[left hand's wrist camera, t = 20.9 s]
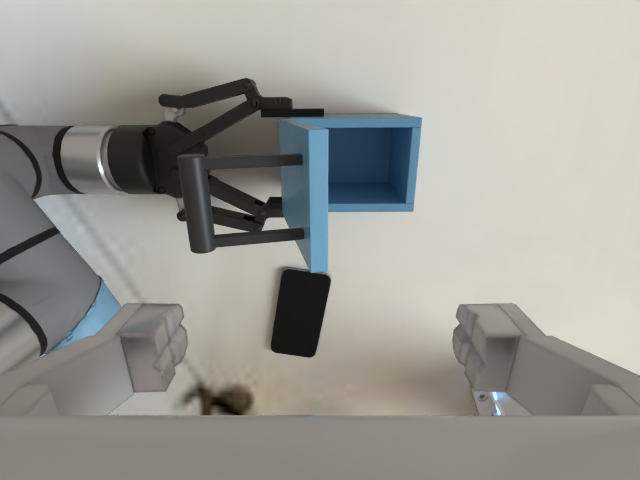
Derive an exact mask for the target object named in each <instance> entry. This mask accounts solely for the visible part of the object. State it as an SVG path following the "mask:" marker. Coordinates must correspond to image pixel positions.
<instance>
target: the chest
mask: <svg viewBox="0 0 640 480" xmlns="http://www.w3.org/2000/svg"><path fill="white" fill-rule="evenodd" d="M286 119H294V120H297V121H301V122H304V123H308V124H311V125H315V126H318V127H322V128H326V129H328V212H413V209H414V198H415V187H416V177H417V167H418V156H419V146H420V136H421V125H422V118H420V117H414V116H408V115H402V114H324V117H288V118H286Z"/></svg>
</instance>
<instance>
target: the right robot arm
mask: <svg viewBox="0 0 640 480" xmlns="http://www.w3.org/2000/svg"><path fill="white" fill-rule="evenodd" d="M242 94H245V96H246V98H247V101H245V102H244V103H242V104H240V105H238V106H237V107H235V108H233V109H232V110H230V111H228V112H227V113H225V114H223V115H222V116H220V117H218V118H216V119H215V120H213V121H211V122H210V123H208V124H206V125H205V126H203V127H201V128H199V129H197V130H195V131H193V132H191V131H190V130H188V129H187V128H185V127H184V126H182V125H181V124H180V123H178V122H177V118H178V117H179V116H182V115H184V114H185V113H186V108H194V107H198V106H202V105H206V104H209V103H213V102H216V101H220V100H224V99H227V98H231V97H235V96H238V95H242ZM159 103H160V105H162V106H163V108H164V121H163V122H161V123H160V124H158V125H121V126H118V127H116V126H114V125H76V126H18V125H0V375H3V374H5V373H7V372H9V371H12V370H14V369H16V368H18V367H20V366H23V365H25V364H27V363H29V362H31V361H34V360H36V359H38V358H39V357H40V356H41V355H43V354H49V353H51V352H54V351H56V350H58V349H60V348H62V347H65V346H67V345H69V344H71V343H73V342H76V341H78V340H80V339H82V338H84V337H87V336H94V335H95V334H96V333H97V332H98V331H99V330H100V329H101V328H102V327H103V326H104V325H105V324H106V323H107V322H108V321H109V320H110V319H111V318H112V317H113V316H114V315H115V314H116V313H117V312H118V311H119V310H120V309H121V306H120V304H119V302H118V301H117V300H116V298H115V297H114V296H113V294H112V293H111V292H110V290H109V289H108V287H107V286H106V285H105V283H104V280H103V279H102V278H101V277H100V276H99V275H97V274H96V273H95V272H94V271H93V269H92V268H91V267H90V266H89V265H88V264H87V263H86V262H85V260H84V259H83V258H82V257H81V256H80V255H79V254H78V252H77V251H76V250H75V249H74V248H73V247H72V246H71V245H70V243H69V242H68V241H67V240H66V239H65V238H64V237H63V236H62V234H61V233H60V231H59V230H58V229H57V228H56V226H55V225H54V224H53V223H52V221H51V220H50V219H49V218H48V217H47V216H46V214H45V213H44V212H43V211H42V210H41V208H40V207H39V206H38V205H37V204H36V202H35V201H34V200H33V199H36V198H39V197H42V196H46V195H54V194H124V193H128V194H167V195H170V196H172V197H174V198H176V199H177V203H178V207H179V211H180V212H179V213H178V214H177V218H178V219H179V220H180V221H186V215H185V209H184V202H183V195H182V189H181V182H180V176H179V169H178V162H177V156H179V155H183V154H203V155H205V157H207V155H208V148H207V145H205V143H204V142H205V141H207V140H208V139H210V138H212V137H213V136H215V135H216V134H218V133H220V132H222V131H223V130H225V129H227V128H228V127H230V126H232V125H234V124H235V123H237V122H239V121H241V120H242V119H244V118H246V117H247V116H249V115H251V114H253V113H254V112H256V111H258V110H261V117H324V109H293V106H292V99H290V98H288V97H262V96H261V95H260V94H259V92H258V89H257V87H256V83H255V82H254V81H253V80H251V79H248V78H244V79H240V80H237V81H233V82H230V83H226V84H223V85H219V86H215V87H212V88H208V89H205V90H201V91H198V92H194V93H190V94H187V95H183V96H180V95H167V94H163V95H160V97H159ZM209 173H210V169H208V170H207V175H208V184H209V192H210V195H212V196H214V197H216V198H219V199H221V200H223V201H225V202H227V203H229V204H231V205H233V206H235V207H237V208H239V209H242V210H244V211H246V212H248V213H250V214H252V215H249V214H244V213H240V212H235V211H231V210H227V209H222V208H218V207H214V206H211V208H212V216H213V224H218V225H222V226H227V227H231V228H236V229H240V230H245V231H249V232H255V231H261V230H262V228H263V226H264V224H265V220H266V219H267V218H269V217H284V216H283V210H282V197H269V199H268V201H267V203H265V202H262V201H260V200H258V199H256V198H254V197H252V196H250V195H248V194H246V193H244V192H242V191H240V190H238V189H236V188H234V187H232V186H230V185H228V184H226V183H224V182H221V181H220V180H218V178H216V177H214V176H212V175H210V174H209ZM253 215H254V216H253Z"/></svg>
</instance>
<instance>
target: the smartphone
mask: <svg viewBox="0 0 640 480" xmlns="http://www.w3.org/2000/svg"><path fill="white" fill-rule="evenodd" d="M330 283H331V278H330V276H329V275H328V274H326V273H321V272H316V273H311V272H310V271H309V270H302V269H296V268H286V269H284V270H283V272H282V277H281V284H280V290H279V297H278V303H277V310H276V316H275V321H274V327H273V336H272V342H271V349H272V351H274V352H276V353H282V354H288V355H295V356H302V357H313V356H314V355H315V354H316V349H317V345H318V340H319V336H320V331H321V326H322V321H323V316H324V312H325V307H326V302H327V297H328V293H329V288H330Z"/></svg>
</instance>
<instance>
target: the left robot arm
mask: <svg viewBox="0 0 640 480" xmlns="http://www.w3.org/2000/svg"><path fill="white" fill-rule="evenodd" d="M183 318H184V314H183V309H182V307H181V306H180V304H155V303H146V304H145V303H128V304H124V306H123V307H122V308H121V309H120V310H119V311H118V312H117V313H116V314H115V315H114V316H113V317H112V318H111V319H110V320H109V321H108V322H107V323H106V324H105V325H104V326H103V327H102V328H101V329H100V330H99V331H98V332H97V333H96V334H95V335H94V336H87V337H84V338H82V339H80V340H78V341H76V342H73V343H71V344H69V345H67V346H65V347H62V348H60V349H58V350H56V351H54V352H51V353H49V354H47V355H45V356H42V357H40V358H38V359H36V360H34V361H31V362H29V363H27V364H25V365H23V366H20V367H18V368H16V369H14V370H12V371H9V372H7V373H5V374H3V375H0V480H640V376H639V375H637V374H635V373H633V372H630V371H628V370H626V369H624V368H622V367H619V366H617V365H615V364H613V363H611V362H608V361H606V360H604V359H602V358H600V357H597V356H595V355H593V354H591V353H589V352H586V351H584V350H582V349H580V348H578V347H575V346H573V345H571V344H569V343H567V342H564V341H562V340H560V339H558V338H556V337H553V336H546V335H545V334H544V333H543V332H542V331H541V330H540V329H539V328H538V327H537V326H536V325H535V324H534V323H533V322H532V321H531V320H530V319H529V318H528V317H527V316H526V315H525V314H524V313H523V312H522V311H521V310H520V308H519V307H518V306H517V305H515V304H513V303H497V304H462V305H459V307H458V309H457V314H456V318H457V320H458V321H459V323H460V324H459V325H458V326H457V327H456V328H455V329H454V332H453V350H454V353H455V356H456V358H457V360H458V362H459V363H460V364H462V365H463V366H465V367H466V369H465V375H466V377H467V379H468V381H469V383H470V384H471V386H472V393H473V397H474V400H475V403H476V407H477V410H478V413H479V416H107V415H108V414H109V413H111V412H112V411H113V410H114V409H116V408H117V407H118V406H119V405H121V404H122V403H123V402H124V401H126V400H127V399H128V398H129V397H131V396H132V395H133V394H134V392H166V390H167V388H168V386H169V385H170V383H171V381H172V379H173V377H174V375H175V369H174V367H175V366H177V365H178V364H180V363H181V362H182V360H183V358H184V356H185V353H186V349H187V332H186V329H185V328H184V327H183V326H182V325H181V324H180V323H181V321H182V320H183Z"/></svg>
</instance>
